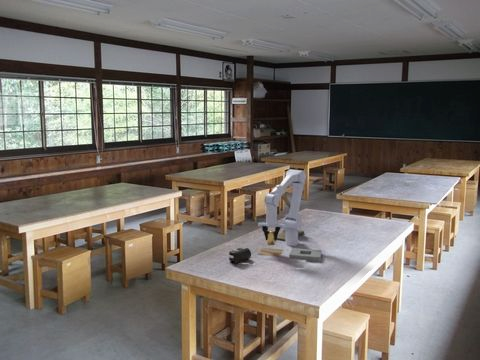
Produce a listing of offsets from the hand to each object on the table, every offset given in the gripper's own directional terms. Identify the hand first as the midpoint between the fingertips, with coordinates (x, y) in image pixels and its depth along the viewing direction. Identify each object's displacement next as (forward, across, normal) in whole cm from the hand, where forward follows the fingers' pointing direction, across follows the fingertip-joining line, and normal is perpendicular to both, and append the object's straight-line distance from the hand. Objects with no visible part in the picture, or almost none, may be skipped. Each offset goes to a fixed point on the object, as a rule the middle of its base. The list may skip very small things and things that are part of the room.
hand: (271, 240), depth 255 cm
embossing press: (+8, +5, +36) cm, 37 cm away
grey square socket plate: (+8, +19, -1) cm, 20 cm away
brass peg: (+2, 0, 0) cm, 2 cm away
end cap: (+8, -13, -18) cm, 24 cm away
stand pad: (+8, 0, 0) cm, 8 cm away
